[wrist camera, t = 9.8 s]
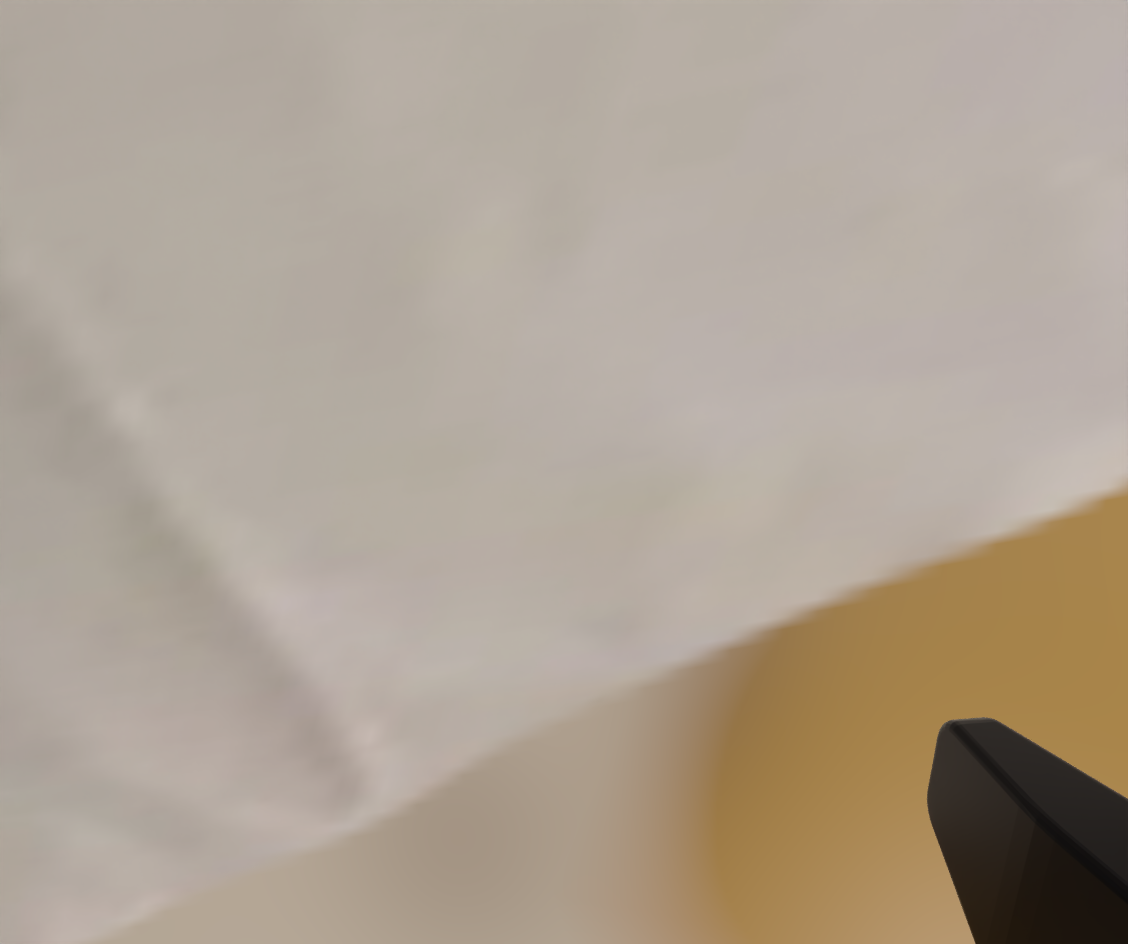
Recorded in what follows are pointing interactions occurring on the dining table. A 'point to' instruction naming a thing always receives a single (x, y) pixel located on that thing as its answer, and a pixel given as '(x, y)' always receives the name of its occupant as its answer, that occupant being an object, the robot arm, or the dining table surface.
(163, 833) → the dining table surface
